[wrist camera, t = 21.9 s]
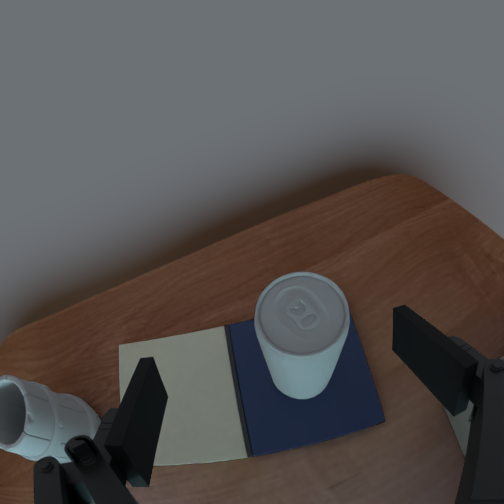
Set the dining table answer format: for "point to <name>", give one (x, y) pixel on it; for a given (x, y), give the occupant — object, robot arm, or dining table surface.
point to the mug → (41, 419)
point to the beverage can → (301, 331)
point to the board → (246, 396)
